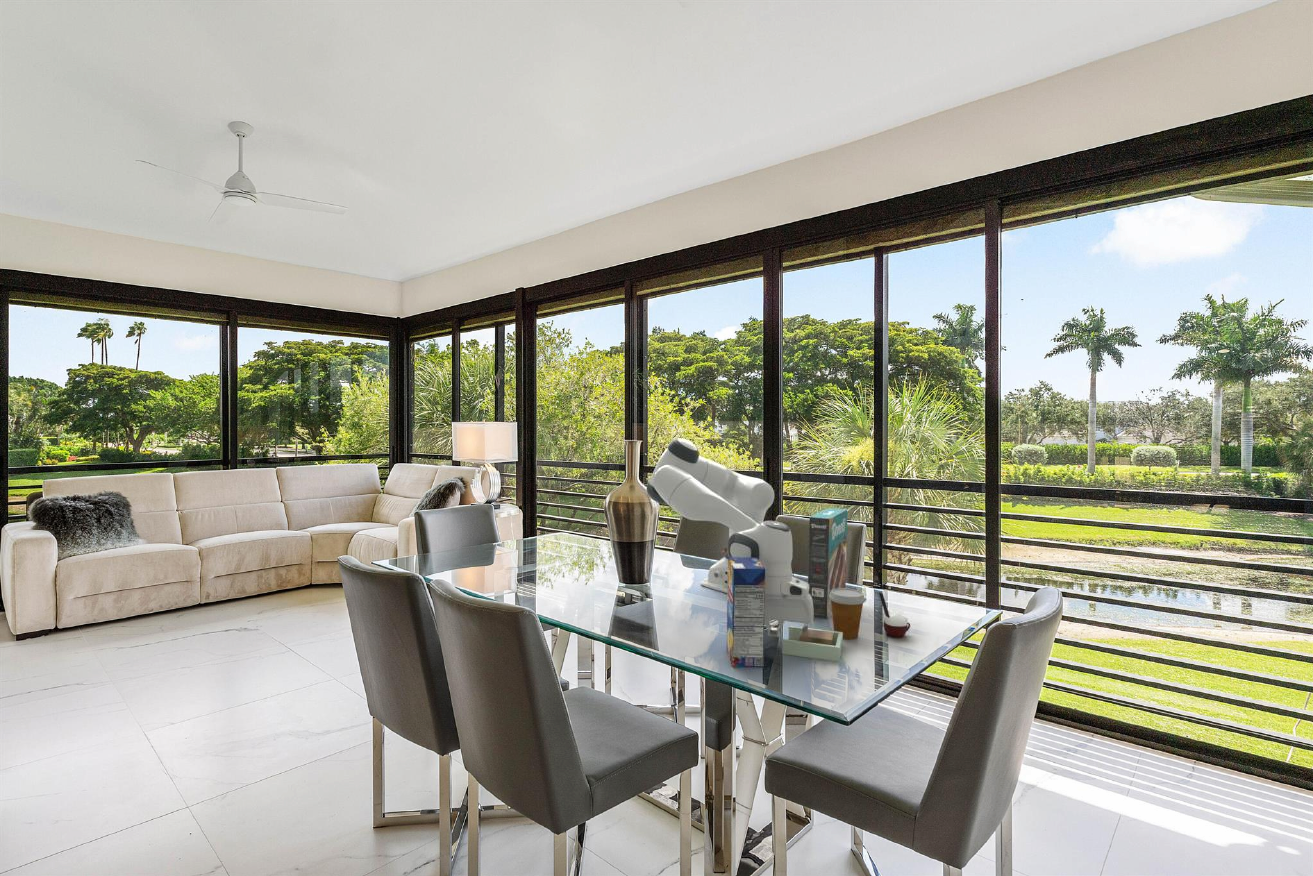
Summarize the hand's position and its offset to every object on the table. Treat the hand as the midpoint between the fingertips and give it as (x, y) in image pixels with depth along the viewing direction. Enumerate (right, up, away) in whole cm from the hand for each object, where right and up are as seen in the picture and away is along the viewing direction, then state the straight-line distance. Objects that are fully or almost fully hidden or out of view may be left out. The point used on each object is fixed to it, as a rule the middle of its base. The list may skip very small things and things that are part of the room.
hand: (773, 635), depth 172 cm
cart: (+10, -3, -4) cm, 11 cm away
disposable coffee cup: (+21, -3, +8) cm, 23 cm away
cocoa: (+35, -3, +8) cm, 36 cm away
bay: (+10, -3, -3) cm, 10 cm away
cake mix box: (+23, -1, +33) cm, 40 cm away
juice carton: (-9, -3, -10) cm, 14 cm away
